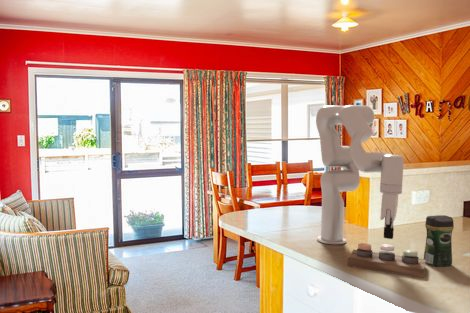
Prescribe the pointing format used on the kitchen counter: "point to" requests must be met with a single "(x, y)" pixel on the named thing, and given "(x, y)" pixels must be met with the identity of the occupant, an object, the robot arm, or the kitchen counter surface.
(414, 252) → the sage button
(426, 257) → the coffee jar
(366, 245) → the terracotta button
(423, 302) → the kitchen counter surface
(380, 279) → the kitchen counter surface
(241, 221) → the kitchen counter surface
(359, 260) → the button board
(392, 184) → the robot arm
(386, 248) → the white button
